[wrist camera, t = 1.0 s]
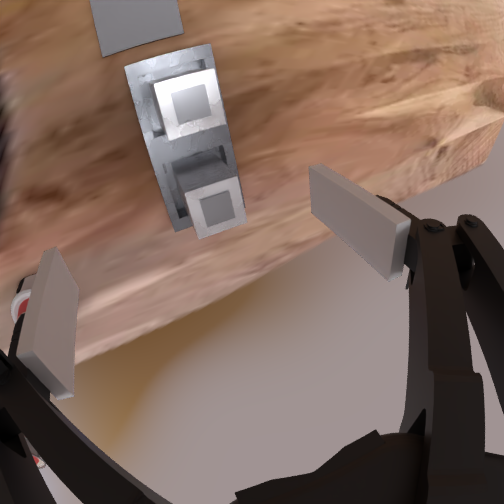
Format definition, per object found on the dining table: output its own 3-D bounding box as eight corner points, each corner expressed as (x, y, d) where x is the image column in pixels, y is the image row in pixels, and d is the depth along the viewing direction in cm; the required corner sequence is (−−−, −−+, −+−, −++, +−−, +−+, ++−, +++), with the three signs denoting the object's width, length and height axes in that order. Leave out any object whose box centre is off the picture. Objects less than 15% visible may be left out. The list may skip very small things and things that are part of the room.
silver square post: (170, 163, 36) (184, 194, 28) (211, 150, 37) (238, 177, 28) (181, 200, 39) (199, 241, 30) (220, 187, 40) (248, 223, 31)
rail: (124, 67, 28) (124, 66, 26) (204, 45, 30) (210, 43, 28) (171, 221, 40) (175, 232, 38) (237, 198, 42) (245, 207, 39)
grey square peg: (147, 82, 30) (154, 84, 22) (192, 69, 31) (215, 68, 23) (158, 123, 33) (169, 141, 25) (201, 110, 34) (227, 124, 26)
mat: (87, -11, 21) (87, -13, 21) (168, -33, 23) (169, -35, 23) (103, 57, 27) (102, 57, 26) (183, 33, 28) (184, 33, 28)
